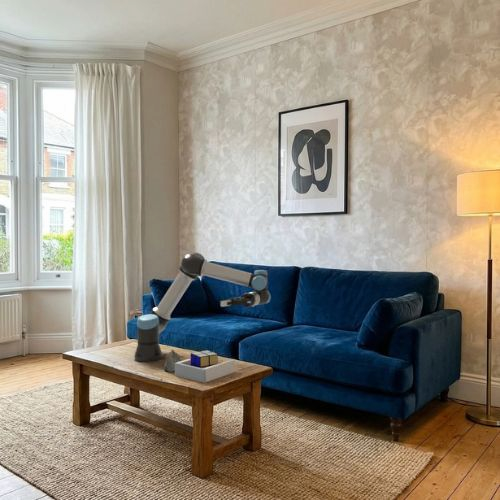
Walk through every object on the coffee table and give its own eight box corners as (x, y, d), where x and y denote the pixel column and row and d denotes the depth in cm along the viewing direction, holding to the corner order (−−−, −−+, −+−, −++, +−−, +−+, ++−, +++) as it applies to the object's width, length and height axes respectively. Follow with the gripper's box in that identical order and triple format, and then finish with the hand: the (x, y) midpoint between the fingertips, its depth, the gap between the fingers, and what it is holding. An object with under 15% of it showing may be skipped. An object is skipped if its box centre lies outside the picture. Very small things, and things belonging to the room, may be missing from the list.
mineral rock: (177, 364, 257) (176, 345, 257) (190, 368, 250) (190, 348, 250) (157, 369, 248) (156, 349, 247) (170, 373, 240) (170, 353, 240)
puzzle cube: (190, 373, 241) (190, 352, 241) (207, 369, 247) (207, 350, 246) (200, 377, 233) (200, 357, 232) (218, 374, 239) (218, 353, 238)
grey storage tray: (206, 365, 254) (206, 354, 254) (235, 371, 242) (235, 359, 242) (174, 375, 237) (174, 363, 237) (203, 382, 225) (203, 369, 224)
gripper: (259, 307, 265) (231, 312, 247) (240, 305, 273) (212, 309, 255) (259, 293, 265) (231, 297, 246) (240, 291, 273) (212, 295, 254)
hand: (221, 303), depth 250 cm, fingers closed
